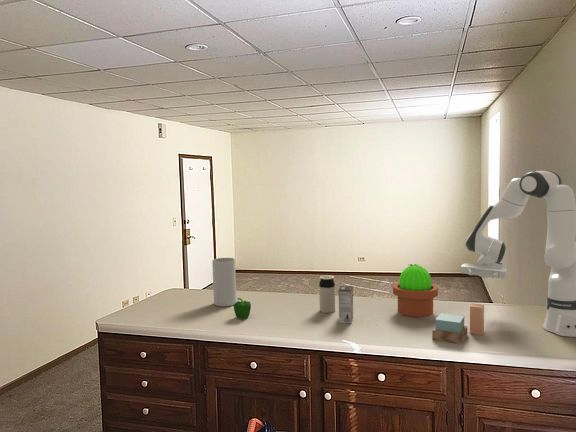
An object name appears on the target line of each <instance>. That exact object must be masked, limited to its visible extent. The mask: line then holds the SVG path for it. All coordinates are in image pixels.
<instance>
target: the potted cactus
mask: <svg viewBox="0 0 576 432" xmlns="http://www.w3.org/2000/svg"><path fill="white" fill-rule="evenodd" d="M404 268H405V267H404ZM392 293H393V295H394V296H396V297H397V312H398V314H399V315H402V316H405V317H410V318H427V317H430V316H432V315H433V314H434V298H437V297H438V295H439V286H438V285H437V284H435V283H433V282H432V277H431V274H430V273H429V271H428V270H427V269H426V268H425V267H424V266H421V265H419V264H412V263H410V264H409V265H408V266H407V267H406V268H405V269H402V271H401V273H400V275H399V278H398V282H395V283H394V284H393V285H392Z"/></svg>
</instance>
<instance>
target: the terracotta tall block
mask: <svg viewBox="0 0 576 432" xmlns="http://www.w3.org/2000/svg"><path fill="white" fill-rule="evenodd" d="M484 325H485V305H484V304H480V303H479V304H478V303H471V305H470V306H469V334H475V335H481V336H482V335H483V334H484V332H485V329H484V327H485V326H484Z"/></svg>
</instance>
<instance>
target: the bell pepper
mask: <svg viewBox="0 0 576 432" xmlns="http://www.w3.org/2000/svg"><path fill="white" fill-rule="evenodd" d="M238 300H239V301H238ZM251 304H252V303H251V302H250V301H247V300H243V298H241V297H236V303H235V304H234V305H233V311H234V314H235V317H236V318H237V319H241V320H245V319H248V318H249V316H250V313H251V308H252V307H251V306H252V305H251Z"/></svg>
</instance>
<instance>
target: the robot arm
mask: <svg viewBox="0 0 576 432" xmlns="http://www.w3.org/2000/svg"><path fill="white" fill-rule="evenodd" d="M562 182H563V181H562V178H561V176H560V175H559V174H558V173H556V172H554V171H550V170H536V171H529V172H526V173H525V174H523V176H522V177H515V178H512V179H511V180H510V181H509V182H508V184H507V186H506V187H505V188H504V191H503V193H502V195H501V197H500V199H499V201H497V203H495V204H494V203H493V204H491V205H489V207H487V209H486V210H485V212H484V213H483V215H482V216H481V217H480V219H479V220H478V222H477V224H476V225H475V227H474V229H473V230H472V231H471V232H470V233H469V235H467V237H466V240H465V247H466V249H467V250H468V251H470V252H472V253H477V254H479V255H481V256H479V258H478V259H477V261H476V263H468V262H467V263H466V262H465V263H462V264H461V266H460V269H459V270H460V271H459V273H461V274H466V275H469V276H479V277H480V278H491V279H502V280H505V279H507V277H508V269H507V268H506V266H505V263H502V260H503V258H504V256H505V252H506V248H507V247H506V245H505V242H504V241H502V240H499V239H496V238H493V237H491V236H488V235H486V234H483V231H484V230H485V229H486V226H487V225H488V224H489V222H490V221H493V220H503V219H504V220H508V219H509V220H510V219H514V218H518V216H521V214H522V213H523V211H524V209H525V207H526V205H527V203H528V201H529V199H530V197H536V198H539V199H542V198H543V199H545V202H546V217H547V220H546V221H547V232H546V233H547V234H546V242H545V252H544V255H543V259H544V262H545V264H546V266H548V267H549V268H551V269H550V273H549V277H548V281H547V282H548V283H547V284H548V287H547V288H548V289H547V297H546V315H545V320H544V323H543V326H542V328H543V329H544V330H546V331H548V332H551V333H554V334H556V335H558V336H562V337H573V338H574V337H575V338H576V199H575V198H576V197H575V194H574V190H573V188H572V186H571V187H570V186H569V185H567V184H562Z"/></svg>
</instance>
